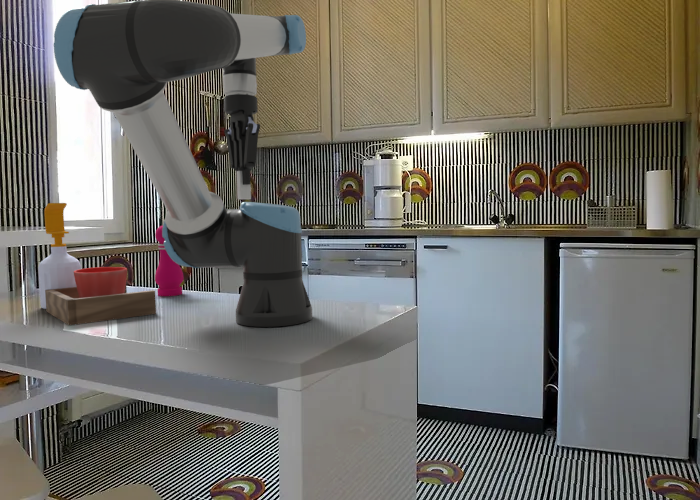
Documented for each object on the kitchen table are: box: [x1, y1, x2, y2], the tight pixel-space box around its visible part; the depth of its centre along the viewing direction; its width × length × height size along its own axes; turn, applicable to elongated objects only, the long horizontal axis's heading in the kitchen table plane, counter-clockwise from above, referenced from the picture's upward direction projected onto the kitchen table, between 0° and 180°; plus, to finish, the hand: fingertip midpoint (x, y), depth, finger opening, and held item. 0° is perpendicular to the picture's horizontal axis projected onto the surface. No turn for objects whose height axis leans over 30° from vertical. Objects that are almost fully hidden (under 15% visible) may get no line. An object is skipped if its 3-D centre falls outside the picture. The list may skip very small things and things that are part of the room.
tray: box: [45, 284, 157, 326], centre depth 130 cm, size 21×18×5 cm
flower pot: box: [74, 266, 128, 298], centre depth 131 cm, size 11×11×10 cm
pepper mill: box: [154, 219, 185, 297], centre depth 155 cm, size 7×7×20 cm
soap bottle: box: [37, 202, 82, 310], centre depth 140 cm, size 9×9×25 cm
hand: (244, 199), depth 137 cm, fingers closed
